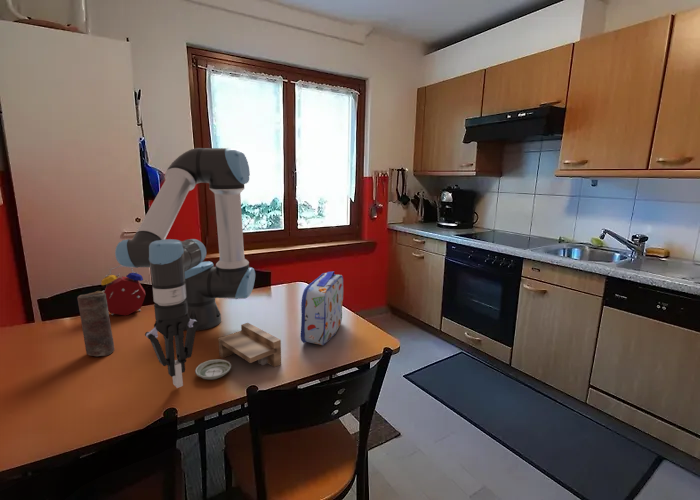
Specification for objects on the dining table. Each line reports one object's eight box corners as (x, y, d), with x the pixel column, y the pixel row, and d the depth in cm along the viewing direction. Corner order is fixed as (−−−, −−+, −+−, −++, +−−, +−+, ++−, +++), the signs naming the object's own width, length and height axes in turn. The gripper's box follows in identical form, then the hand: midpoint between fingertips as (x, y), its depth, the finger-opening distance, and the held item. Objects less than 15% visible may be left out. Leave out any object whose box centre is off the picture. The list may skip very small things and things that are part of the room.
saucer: (196, 387, 99) (196, 379, 98) (194, 370, 108) (194, 362, 107) (233, 380, 103) (233, 372, 103) (229, 363, 112) (228, 356, 111)
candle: (83, 361, 111) (74, 298, 107) (87, 350, 118) (79, 291, 114) (113, 355, 115) (105, 294, 111) (115, 345, 121) (108, 287, 117)
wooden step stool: (219, 355, 116) (218, 332, 114) (248, 344, 123) (247, 322, 122) (251, 377, 104) (249, 351, 102) (281, 364, 111) (280, 339, 110)
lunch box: (320, 317, 148) (320, 264, 143) (345, 320, 146) (346, 266, 141) (297, 349, 121) (296, 285, 117) (327, 352, 119) (327, 288, 115)
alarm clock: (146, 307, 155) (141, 261, 151) (147, 314, 148) (142, 266, 144) (104, 313, 147) (98, 265, 143) (103, 321, 140) (97, 271, 136)
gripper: (148, 311, 86) (157, 401, 91) (202, 298, 95) (208, 380, 100) (137, 303, 91) (146, 389, 96) (189, 291, 100) (195, 370, 105)
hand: (178, 384), depth 98 cm, fingers closed
